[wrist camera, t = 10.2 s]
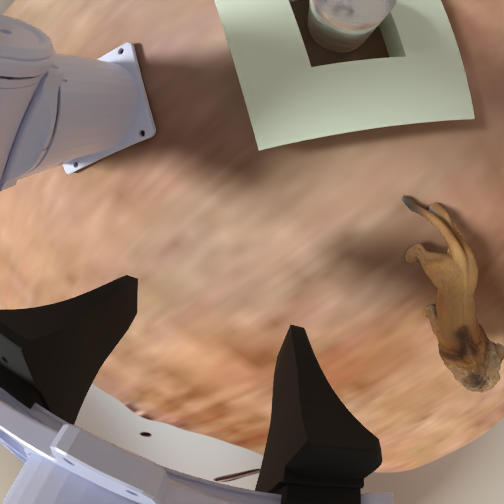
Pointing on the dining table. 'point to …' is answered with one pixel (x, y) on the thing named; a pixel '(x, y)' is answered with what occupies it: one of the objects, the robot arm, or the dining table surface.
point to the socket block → (344, 73)
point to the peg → (345, 21)
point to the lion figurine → (456, 305)
